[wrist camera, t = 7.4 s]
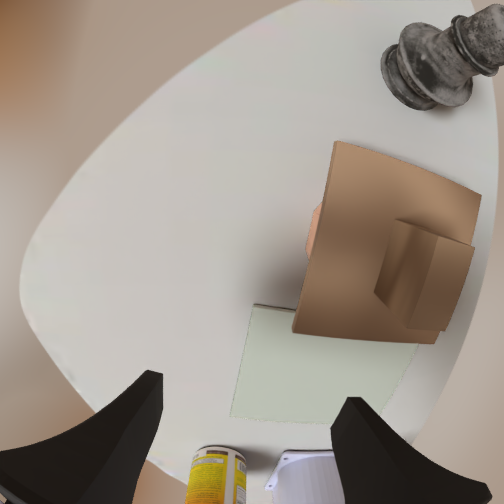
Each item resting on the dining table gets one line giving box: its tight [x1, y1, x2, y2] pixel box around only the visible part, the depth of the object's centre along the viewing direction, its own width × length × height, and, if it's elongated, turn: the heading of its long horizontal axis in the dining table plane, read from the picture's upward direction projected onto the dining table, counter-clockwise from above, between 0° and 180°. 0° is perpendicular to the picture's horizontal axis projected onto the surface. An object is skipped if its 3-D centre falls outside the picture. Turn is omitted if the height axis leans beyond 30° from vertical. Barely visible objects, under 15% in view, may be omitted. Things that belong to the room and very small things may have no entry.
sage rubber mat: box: [230, 304, 419, 424], centre depth 20 cm, size 11×14×1 cm
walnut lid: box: [291, 141, 482, 344], centre depth 12 cm, size 10×10×5 cm
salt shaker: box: [381, 4, 504, 111], centre depth 9 cm, size 6×6×12 cm
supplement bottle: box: [185, 447, 246, 504], centre depth 19 cm, size 6×6×10 cm
